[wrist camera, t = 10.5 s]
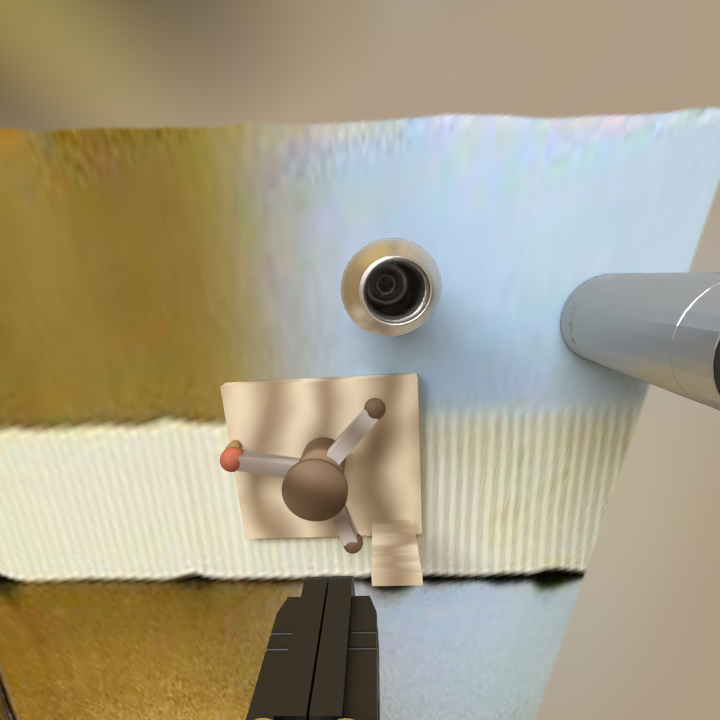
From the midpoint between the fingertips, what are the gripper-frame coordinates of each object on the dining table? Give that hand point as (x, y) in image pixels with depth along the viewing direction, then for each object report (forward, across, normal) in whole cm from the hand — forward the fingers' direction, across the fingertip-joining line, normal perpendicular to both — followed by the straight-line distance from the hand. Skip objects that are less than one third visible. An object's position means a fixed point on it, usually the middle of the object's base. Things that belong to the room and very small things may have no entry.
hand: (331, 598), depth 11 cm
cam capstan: (+27, +7, +9) cm, 30 cm away
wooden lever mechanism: (+29, +5, +11) cm, 31 cm away
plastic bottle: (+29, -3, -9) cm, 31 cm away
